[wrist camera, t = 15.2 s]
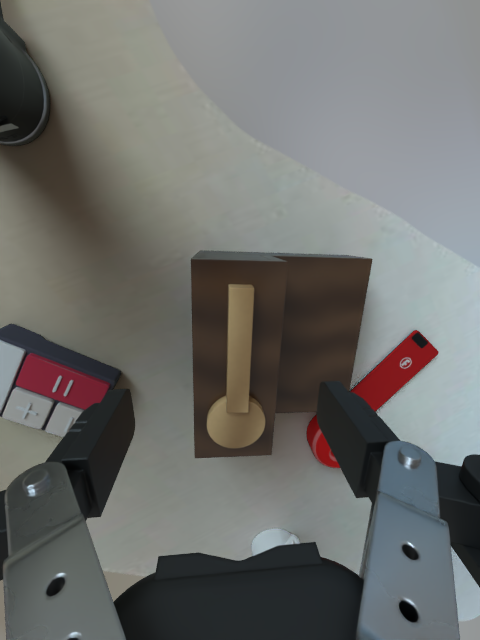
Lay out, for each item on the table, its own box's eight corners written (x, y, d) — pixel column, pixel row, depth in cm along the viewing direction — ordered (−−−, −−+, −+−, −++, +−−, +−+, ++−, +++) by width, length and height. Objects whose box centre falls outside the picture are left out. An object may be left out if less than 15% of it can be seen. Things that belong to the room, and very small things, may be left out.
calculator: (82, 448, 37) (-43, 408, 33) (94, 426, 41) (-16, 389, 37) (114, 385, 34) (-16, 334, 30) (123, 368, 38) (10, 322, 34)
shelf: (199, 250, 34) (190, 258, 21) (347, 255, 36) (417, 265, 23) (201, 389, 40) (194, 458, 27) (327, 387, 42) (375, 451, 29)
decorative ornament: (371, 435, 45) (383, 449, 42) (322, 463, 46) (329, 478, 43) (348, 395, 42) (359, 407, 39) (296, 425, 43) (302, 439, 40)
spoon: (207, 442, 27) (206, 454, 25) (206, 283, 22) (205, 287, 21) (262, 440, 27) (264, 452, 26) (272, 284, 23) (277, 288, 21)
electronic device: (365, 417, 44) (437, 351, 41) (367, 419, 43) (440, 352, 41) (342, 398, 42) (415, 328, 40) (343, 400, 42) (417, 330, 39)
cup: (311, 520, 50) (334, 587, 40) (281, 562, 53) (295, 634, 43) (273, 509, 48) (287, 576, 39) (243, 553, 51) (250, 626, 41)
